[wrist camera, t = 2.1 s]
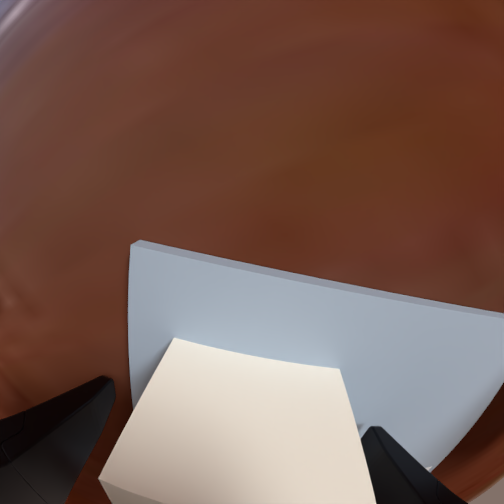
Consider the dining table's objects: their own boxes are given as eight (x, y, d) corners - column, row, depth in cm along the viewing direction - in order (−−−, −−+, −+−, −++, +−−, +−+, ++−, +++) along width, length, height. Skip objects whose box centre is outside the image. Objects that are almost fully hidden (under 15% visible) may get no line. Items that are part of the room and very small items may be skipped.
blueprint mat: (357, 522, 13) (358, 528, 12) (154, 505, 13) (151, 511, 12) (527, 317, 8) (535, 323, 7) (140, 239, 8) (130, 245, 7)
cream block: (292, 456, 9) (295, 561, 4) (169, 434, 9) (133, 535, 4) (339, 368, 8) (378, 514, 3) (174, 337, 8) (97, 478, 3)
